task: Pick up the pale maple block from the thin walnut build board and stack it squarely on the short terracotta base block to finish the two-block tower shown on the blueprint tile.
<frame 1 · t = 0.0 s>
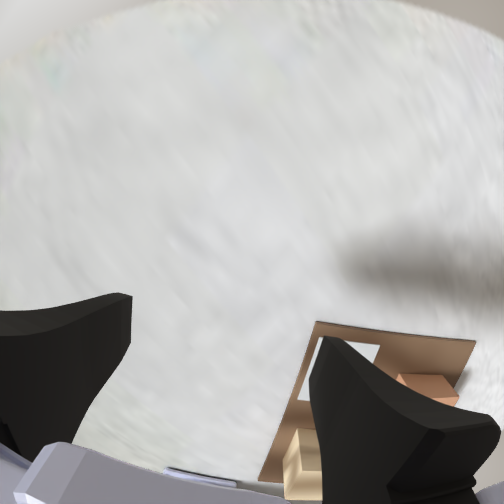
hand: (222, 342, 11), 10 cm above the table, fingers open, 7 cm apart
maple block: (315, 446, 24), resting on build board
build board: (364, 425, 24), on the table
terracotta base block: (410, 396, 23), resting on build board
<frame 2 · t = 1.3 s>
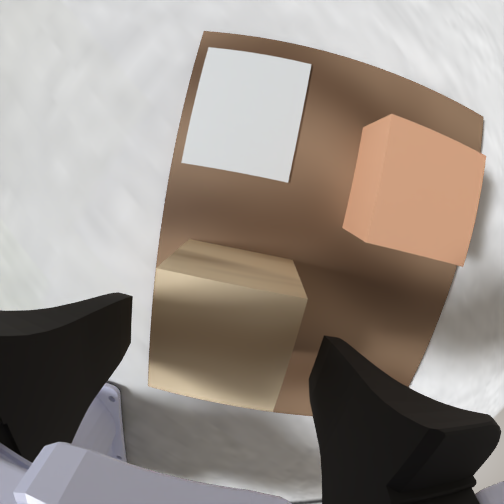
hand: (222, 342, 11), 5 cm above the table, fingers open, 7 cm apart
maple block: (231, 297, 15), resting on build board
build board: (323, 254, 15), on the table
terracotta base block: (398, 190, 14), resting on build board
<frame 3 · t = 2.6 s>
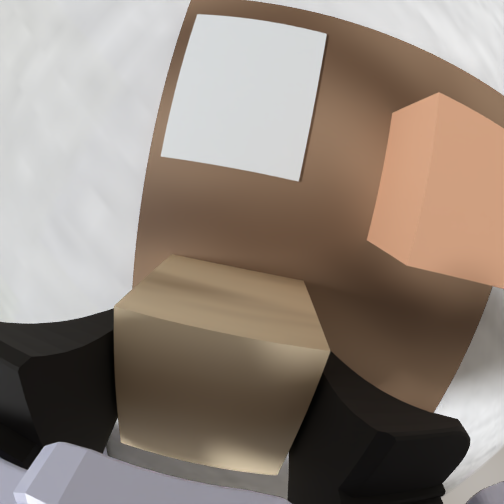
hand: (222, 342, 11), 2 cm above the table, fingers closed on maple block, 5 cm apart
maple block: (225, 327, 12), resting on build board, touching gripper
build board: (341, 272, 12), on the table
terracotta base block: (434, 192, 10), resting on build board
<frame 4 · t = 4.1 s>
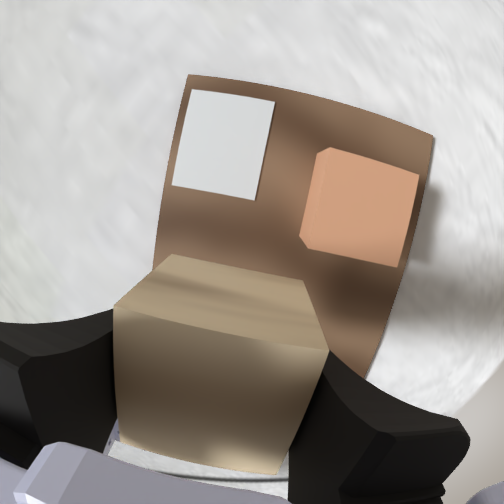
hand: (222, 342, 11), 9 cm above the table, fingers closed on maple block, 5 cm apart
maple block: (225, 326, 12), point 7 cm above the table, touching gripper
build board: (284, 256, 19), on the table
terracotta base block: (348, 204, 18), resting on build board
when the fingers open (6 cm above the table, at t = 5.9 s): maple block drops 1 cm, resting on terracotta base block.
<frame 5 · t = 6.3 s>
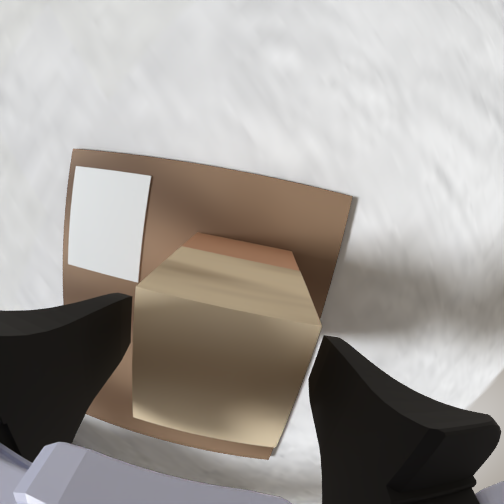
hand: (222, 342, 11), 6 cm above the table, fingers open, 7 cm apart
maple block: (229, 313, 13), point 4 cm above the table, touching terracotta base block
build board: (176, 334, 18), on the table
terracotta base block: (235, 286, 17), resting on build board, touching maple block
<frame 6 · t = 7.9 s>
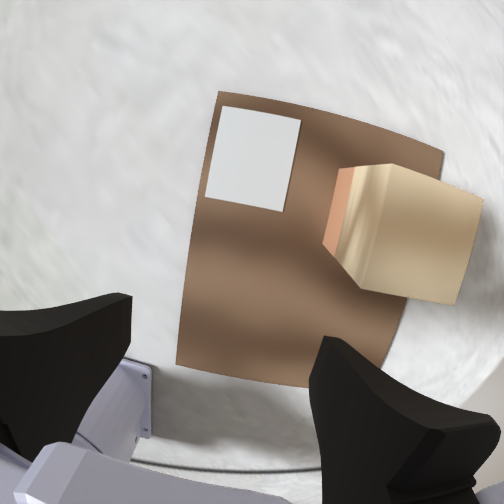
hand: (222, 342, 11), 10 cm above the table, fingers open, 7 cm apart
maple block: (386, 222, 16), point 4 cm above the table, touching terracotta base block
build board: (308, 262, 21), on the table
terracotta base block: (366, 214, 19), resting on build board, touching maple block
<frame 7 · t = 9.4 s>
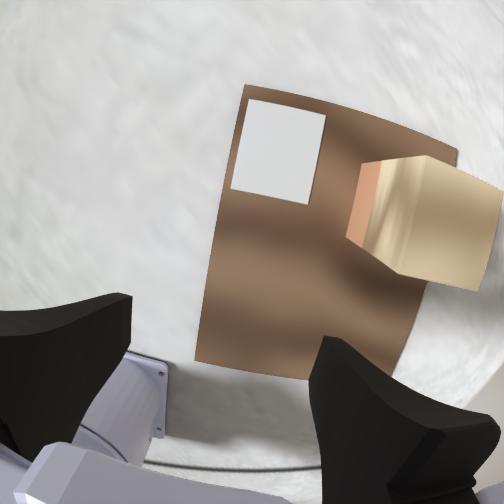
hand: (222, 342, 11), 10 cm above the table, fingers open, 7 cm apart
maple block: (410, 215, 16), point 4 cm above the table, touching terracotta base block
build board: (331, 255, 21), on the table
terracotta base block: (387, 209, 19), resting on build board, touching maple block
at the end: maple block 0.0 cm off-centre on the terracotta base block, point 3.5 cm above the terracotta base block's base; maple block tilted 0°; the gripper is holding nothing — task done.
